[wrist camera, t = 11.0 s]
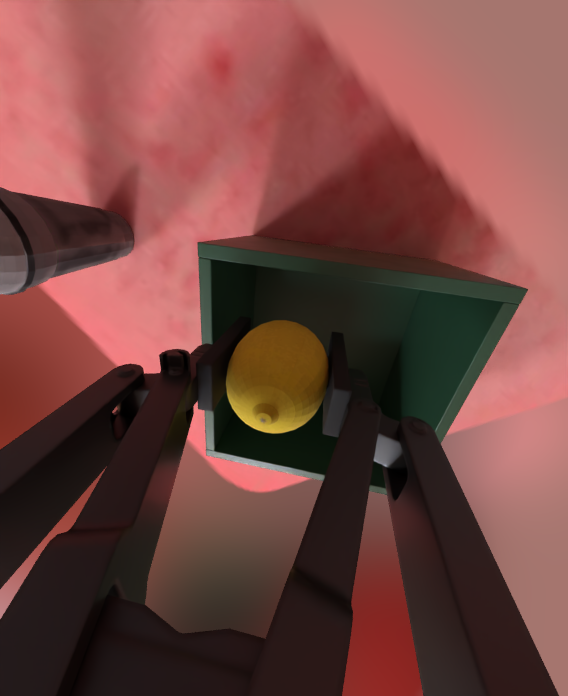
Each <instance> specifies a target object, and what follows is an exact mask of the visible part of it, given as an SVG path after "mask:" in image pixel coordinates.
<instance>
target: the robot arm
mask: <svg viewBox="0 0 568 696" xmlns="http://www.w3.org/2000/svg"><path fill="white" fill-rule="evenodd" d="M250 328H251V318H248V317H242V316H240V317H239V318H238V319H237V320H236V321H235V322H234V323H233V324H232V325H231V326H230V327H229V329H228V330H227V331H226V332H225V333H224V334H223V335H222V336H221V337H220V338H219V339H218V340H217V341H216V342H215V343H214V344H208V343H205V344H203V345H201V346H198V347H197V348H196V349H195V350H194V351H193V352H192V353H191V354H190V353H189V352H188V351H185V350H181V349H172V350H167V351H165V352H162V353H161V354H160V355H159V357H160V365H161V372H160V373H156V374H144V371H143V368H142V367H141V366H140V365H136V364H126V365H122V366H119V367H117V368H115V369H113V370H111V371H110V372H109V373H107V374H106V375H104V376H103V377H102V378H100V379H99V380H97V381H96V382H95V383H93V384H92V385H90V386H89V387H88V388H86V389H85V390H84V391H82V392H81V393H79V394H78V395H76V396H75V397H74V398H72V399H71V400H69V401H68V402H67V403H65V404H64V405H62V406H61V407H60V408H58V409H57V410H55V411H54V412H52V413H51V414H50V415H48V416H47V417H45V418H44V419H43V420H41V421H40V422H38V423H37V424H36V425H34V426H33V427H31V428H30V429H29V430H28V431H26V432H24V433H23V434H22V435H20V436H19V437H18V438H16V439H15V440H13V441H12V442H11V443H9V444H8V445H6V446H5V447H3V448H2V449H1V450H0V589H1V588H2V586H3V585H4V584H5V583H6V582H7V581H8V579H9V578H10V577H11V576H12V575H13V574H14V573H15V571H16V570H17V569H18V568H19V567H20V566H21V565H22V563H23V562H24V561H25V560H26V558H28V556H29V555H30V554H31V553H32V552H33V551H34V549H35V548H36V547H37V546H38V545H39V544H40V543H41V541H42V540H43V539H44V538H45V537H46V536H47V535H48V533H49V532H50V531H51V530H52V529H53V528H54V526H55V525H56V524H57V523H58V522H59V521H60V520H61V518H62V517H63V516H64V515H65V514H66V513H67V511H68V510H69V509H70V508H71V507H72V506H73V504H74V503H75V502H76V501H77V500H78V499H79V498H80V496H81V495H82V494H83V493H84V492H85V491H86V489H87V488H88V487H89V486H90V485H91V483H93V481H94V480H95V479H96V478H97V477H98V476H99V474H100V473H101V472H102V471H103V470H104V469H105V468H106V469H105V471H104V473H103V474H102V476H101V478H100V479H99V481H98V483H97V485H96V487H95V488H94V490H93V492H92V494H91V496H90V497H89V499H88V501H87V503H86V504H85V506H84V508H83V509H82V511H81V513H80V515H79V516H78V518H77V520H76V522H75V523H74V525H73V526H72V528H71V529H70V530H69V531H67V532H64V533H61V534H57V535H56V537H54V538H53V539H52V540H51V541H50V542H49V543H48V544H47V546H46V547H45V549H44V550H43V551H42V553H41V554H40V556H39V558H38V559H37V561H36V562H35V564H34V566H33V567H32V569H31V571H30V572H29V574H28V576H27V577H26V579H25V580H24V582H23V584H22V585H21V587H20V589H19V590H18V592H17V593H16V595H15V597H14V598H13V600H12V601H11V603H10V605H9V606H8V608H7V610H6V611H5V613H4V614H3V616H2V618H1V619H0V696H342V691H343V684H344V677H345V671H346V664H347V657H348V650H349V644H350V636H351V628H352V620H353V610H352V607H351V599H352V592H353V586H354V580H355V573H356V567H357V561H358V555H359V549H360V543H361V536H362V530H363V524H364V518H365V511H366V506H367V499H368V493H369V487H370V481H371V475H372V469H373V463H374V461H375V462H377V463H379V464H382V469H383V474H384V480H385V485H386V491H387V496H388V502H389V507H390V513H391V518H392V524H393V530H394V535H395V540H396V546H397V552H398V557H399V563H400V568H401V574H402V579H403V585H404V590H405V595H406V601H407V607H408V612H409V618H410V623H411V629H412V634H413V640H414V645H415V651H416V656H417V662H418V668H419V673H420V679H421V684H422V690H423V695H424V696H559V695H558V693H557V691H556V689H555V686H554V684H553V682H552V680H551V678H550V676H549V674H548V671H547V669H546V667H545V665H544V663H543V661H542V659H541V657H540V655H539V652H538V650H537V648H536V646H535V644H534V642H533V640H532V638H531V635H530V633H529V631H528V629H527V627H526V625H525V623H524V620H523V619H522V616H521V614H520V612H519V610H518V608H517V606H516V603H515V601H514V599H513V597H512V595H511V593H510V591H509V589H508V586H507V584H506V582H505V580H504V578H503V576H502V574H501V572H500V569H499V567H498V565H497V563H496V561H495V559H494V557H493V554H492V553H491V550H490V548H489V546H488V544H487V542H486V540H485V537H484V535H483V533H482V531H481V529H480V527H479V525H478V523H477V521H476V519H475V516H474V514H473V512H472V510H471V508H470V506H469V503H468V501H467V499H466V497H465V495H464V493H463V491H462V489H461V486H460V484H459V482H458V480H457V478H456V476H455V474H454V472H453V470H452V467H451V465H450V463H449V461H448V459H447V457H446V455H445V452H444V450H443V448H442V446H441V444H440V442H439V440H438V438H437V435H436V433H435V431H434V430H433V428H432V427H431V426H430V425H429V424H428V423H426V422H425V421H423V420H421V419H419V418H416V417H413V416H406V417H403V418H402V419H401V420H400V422H399V421H397V420H394V419H392V418H389V417H387V416H385V415H384V414H382V412H381V408H380V407H379V405H378V404H376V403H375V402H374V401H373V398H372V394H371V390H370V387H369V383H368V379H367V376H366V375H365V373H364V372H363V371H362V370H357V369H351V368H348V362H347V356H346V349H345V342H344V335H343V333H339V332H333V331H332V333H331V337H330V342H329V346H328V351H327V358H328V365H329V381H328V385H327V390H326V394H325V397H324V399H323V434H324V435H329V436H334V437H339V438H338V441H337V444H336V447H335V449H334V452H333V455H332V458H331V461H330V463H329V466H328V469H327V472H326V475H325V477H324V480H323V483H322V486H321V489H320V492H319V494H318V497H317V500H316V503H315V505H314V508H313V511H312V514H311V517H310V520H309V522H308V525H307V528H306V531H305V534H304V536H303V539H302V542H301V545H300V548H299V550H298V553H297V556H296V559H295V562H294V564H293V567H292V569H291V571H290V573H289V576H288V578H287V581H286V584H285V587H284V590H283V592H282V595H281V598H280V601H279V603H278V606H277V609H276V612H275V615H274V617H273V620H272V623H271V626H270V628H269V631H268V634H267V637H266V639H264V638H261V637H257V636H254V635H250V634H246V633H242V632H239V631H236V630H232V629H222V630H213V631H205V632H195V633H185V634H182V633H179V632H178V631H176V630H175V629H174V628H173V627H171V626H170V625H169V624H168V623H166V622H165V621H164V620H163V619H162V618H160V617H159V616H158V615H157V614H156V613H154V612H153V611H152V610H151V609H150V608H148V607H147V606H146V605H145V599H146V591H147V581H148V574H149V571H150V567H151V564H152V560H153V556H154V553H155V549H156V546H157V542H158V539H159V535H160V531H161V528H162V524H163V520H164V517H165V514H166V510H167V507H168V503H169V499H170V496H171V492H172V489H173V485H174V482H175V478H176V474H177V470H178V467H179V463H180V460H181V456H182V453H183V449H184V446H185V442H186V439H187V435H188V432H189V428H190V424H191V421H192V417H193V414H194V412H193V406H194V404H195V403H196V402H197V400H198V409H201V410H206V411H211V412H213V410H214V409H215V407H216V405H217V404H218V402H219V401H220V399H221V397H222V396H223V394H224V392H225V391H226V377H227V370H228V365H229V361H230V359H231V356H232V354H233V352H234V350H235V348H236V346H237V345H238V343H239V342H240V341H241V340H242V339H243V338H244V337H245V336H246V335H247V333H248V332H250ZM116 406H117V408H118V410H117V411H116V412H114V413H112V411H113V410H114V408H115V407H116ZM340 430H341V432H340ZM339 433H340V435H339ZM106 466H107V467H106Z"/></svg>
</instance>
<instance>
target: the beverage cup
mask: <svg viewBox="0 0 568 696" xmlns="http://www.w3.org/2000/svg"><path fill="white" fill-rule="evenodd" d="M133 245H134V238H133V233H132V230H131V228H130V226H129V225H128V223H127V222H126V220H125V219H124V218H122V217H121V216H120V215H119V214H117V213H114V212H111V211H106V210H102V209H100V208H95V207H90V206H84V205H79V204H74V203H69V202H63V201H58V200H53V199H48V198H42V197H37V196H32V195H27V194H22V193H16V192H11V191H8V190H6V189H4V188H1V187H0V294H6V295H7V294H9V295H10V294H11V295H12V294H17V293H20V292H24V291H25V290H26V289H27V288H30V287H34V286H36V285H38V284H41V283H43V282H45V281H47V280H48V279H49V278H53V277H56V276H60V275H63V274H67V273H70V272H74V271H77V270H81V269H84V268H88V267H91V266H95V265H98V264H102V263H105V262H109V261H112V260H116V259H118V258H120V257H124V256H127V255H128V254H129V253H131V251H132V249H133Z"/></svg>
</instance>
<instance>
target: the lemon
mask: <svg viewBox="0 0 568 696" xmlns="http://www.w3.org/2000/svg"><path fill="white" fill-rule="evenodd" d="M328 381H329V365H328V358H327V355H326V352H325V350H324V347H323V345H322V344H321V342H320V341H319V339H318V338H317V337H316V335H315V334H314V333H312V332H311V331H310V330H309V329H308V328H306V327H304V326H302V325H300V324H298V323H296V322H291V321H287V320H274V321H271V322H267V323H264V324H261V325H259V326H258V327H256V328H254V329H253V330H251V331H250V332H248V333H247V335H246V336H245V337H244V338H243V339H242V340H241V341H240V342H239V343H238V345H237V346H236V348H235V350H234V352H233V354H232V356H231V359H230V361H229V365H228V370H227V377H226V389H227V396H228V399H229V402H230V404H231V406H232V409H233V410H234V411H235V413H236V414H237V415H238V417H239V418H240V419H241V420H242V421H244V422H245V423H246V424H247V425H249V426H251V427H252V428H254V429H256V430H259V431H262V432H267V433H284V432H288V431H292V430H295V429H297V428H298V427H300V426H302V425H304V424H305V423H306V422H307V421H309V420H310V419H311V418H312V417H313V416H314V414H315V413H316V412H317V410H318V408H319V406H320V405H321V403H322V401H323V399H324V397H325V394H326V390H327V385H328Z"/></svg>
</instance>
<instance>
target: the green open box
mask: <svg viewBox="0 0 568 696" xmlns="http://www.w3.org/2000/svg"><path fill="white" fill-rule="evenodd" d="M198 257H199V283H200V308H201V333H202V345H203V344H205V343H208V344H214V343H215V342H216V341H217V340H218V339H219V338H220V337H221V336H222V335H223V334H224V333H225V332H226V331H227V330H228V329H229V327H230V326H231V325H232V324H233V323H234V322H235V321H236V320H237V319H238V318H239V317H240V316H242V317H248V318H251V328H250V331H251V330H253V329H254V328H256V327H258V326H259V325H261V324H264V323H267V322H271V321H274V320H287V321H291V322H296V323H298V324H300V325H302V326H304V327H306V328H308V329H309V330H310V331H311V332H312V333H314V334H315V335H316V337H317V338H318V339H319V341H320V342H321V344H322V345H323V347H324V350H325V352H326V355H327V351H328V346H329V342H330V337H331V333H332V331H333V332H339V333H343V335H344V342H345V349H346V356H347V362H348V368H351V369H357V370H362V371H363V372H364V373H365V375H366V376H367V379H368V383H369V387H370V390H371V394H372V398H373V401H374V402H375V403H376V404H378V405H379V407H380V408H381V412H382V414H384V415H385V416H387V417H389V418H392V419H394V420H397V421H399V422H400V420H401V419H402V418H403V417H406V416H413V417H416V418H419V419H421V420H423V421H425V422H426V423H428V424H429V425H430V426H431V427H432V428H433V430H434V431H435V433H436V435H437V438H438V440H439V442H440V444H441V442H442V440H443V439H444V437H445V435H446V433H447V432H448V430H449V428H450V426H451V425H452V423H453V421H454V419H455V417H456V416H457V414H458V412H459V410H460V409H461V407H462V405H463V403H464V402H465V400H466V398H467V396H468V395H469V393H470V391H471V389H472V388H473V386H474V384H475V382H476V380H477V379H478V377H479V375H480V373H481V372H482V370H483V368H484V366H485V365H486V363H487V361H488V359H489V358H490V356H491V354H492V352H493V351H494V349H495V347H496V345H497V343H498V342H499V340H500V338H501V336H502V335H503V333H504V331H505V329H506V328H507V326H508V324H509V322H510V321H511V319H512V317H513V315H514V313H515V312H516V310H517V308H518V306H519V304H520V303H521V301H522V300H523V298H524V296H525V294H526V293H527V291H528V289H526V288H523V287H520V286H516V285H513V284H510V283H507V282H504V281H501V280H497V279H494V278H491V277H488V276H485V275H481V274H478V273H475V272H472V271H469V270H465V269H462V268H459V267H456V266H453V265H450V264H446V263H443V262H440V261H437V260H430V259H422V258H415V257H408V256H400V255H393V254H386V253H378V252H371V251H364V250H356V249H349V248H342V247H334V246H327V245H320V244H312V243H305V242H298V241H290V240H283V239H276V238H268V237H261V236H254V235H252V236H244V237H236V238H228V239H220V240H213V241H205V242H198ZM340 432H341V430H340ZM205 433H206V455H207V456H211V457H216V458H221V459H225V460H230V461H234V462H239V463H243V464H248V465H253V466H257V467H262V468H266V469H271V470H275V471H280V472H285V473H289V474H294V475H298V476H303V477H307V478H312V479H316V480H321V481H323V480H324V477H325V475H326V472H327V469H328V466H329V463H330V461H331V458H332V455H333V452H334V449H335V447H336V444H337V441H338V438H339V437H334V436H329V435H324V434H323V401H322V403H321V405H320V406H319V408H318V410H317V412H316V413H315V414H314V416H313V417H312V418H311V419H310V420H309V421H307V422H306V423H305V424H304V425H302V426H300V427H298V428H297V429H295V430H292V431H288V432H284V433H267V432H262V431H259V430H256V429H254V428H252V427H251V426H249V425H247V424H246V423H245V422H244V421H242V420H241V419H240V418H239V417H238V415H237V414H236V413H235V411H234V410H233V409H232V406H231V404H230V402H229V399H228V396H227V389H226V391H225V392H224V394H223V396H222V397H221V399H220V401H219V402H218V404H217V405H216V407H215V409H214V410H213V412H211V411H206V410H205ZM339 435H340V433H339ZM369 491H372V492H376V493H381V494H385V495H387V491H386V485H385V480H384V474H383V469H382V464H379V463H377V462H375V461H374V463H373V469H372V475H371V481H370V487H369Z"/></svg>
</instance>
